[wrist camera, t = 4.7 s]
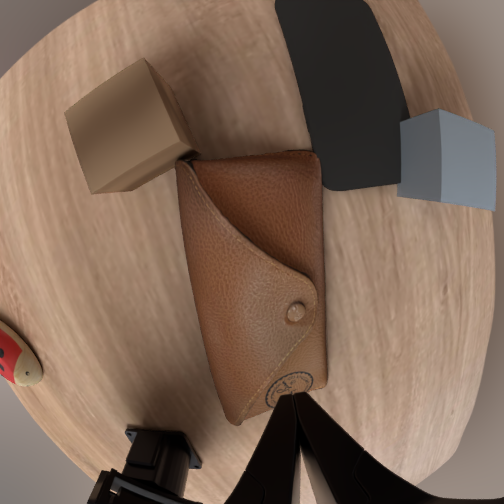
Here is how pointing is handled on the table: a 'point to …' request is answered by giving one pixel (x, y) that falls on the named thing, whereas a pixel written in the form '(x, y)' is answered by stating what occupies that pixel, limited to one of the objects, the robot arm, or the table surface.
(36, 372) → the ladybug figurine
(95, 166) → the walnut block
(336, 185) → the phone
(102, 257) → the table surface
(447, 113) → the slate block
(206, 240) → the sunglasses case
